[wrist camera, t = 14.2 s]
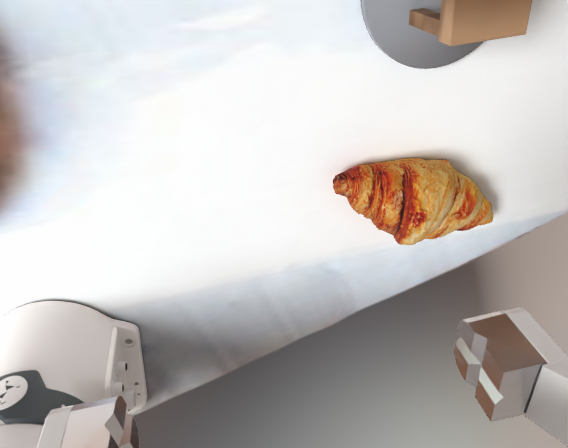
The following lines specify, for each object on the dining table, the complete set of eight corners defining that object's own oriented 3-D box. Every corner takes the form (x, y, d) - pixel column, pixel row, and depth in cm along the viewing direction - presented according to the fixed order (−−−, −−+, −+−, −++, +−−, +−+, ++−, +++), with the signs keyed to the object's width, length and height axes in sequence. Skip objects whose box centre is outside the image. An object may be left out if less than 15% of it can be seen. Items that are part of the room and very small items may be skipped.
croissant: (479, 174, 55) (533, 174, 48) (464, 253, 56) (515, 265, 48) (327, 139, 48) (362, 131, 41) (311, 229, 49) (343, 238, 41)
